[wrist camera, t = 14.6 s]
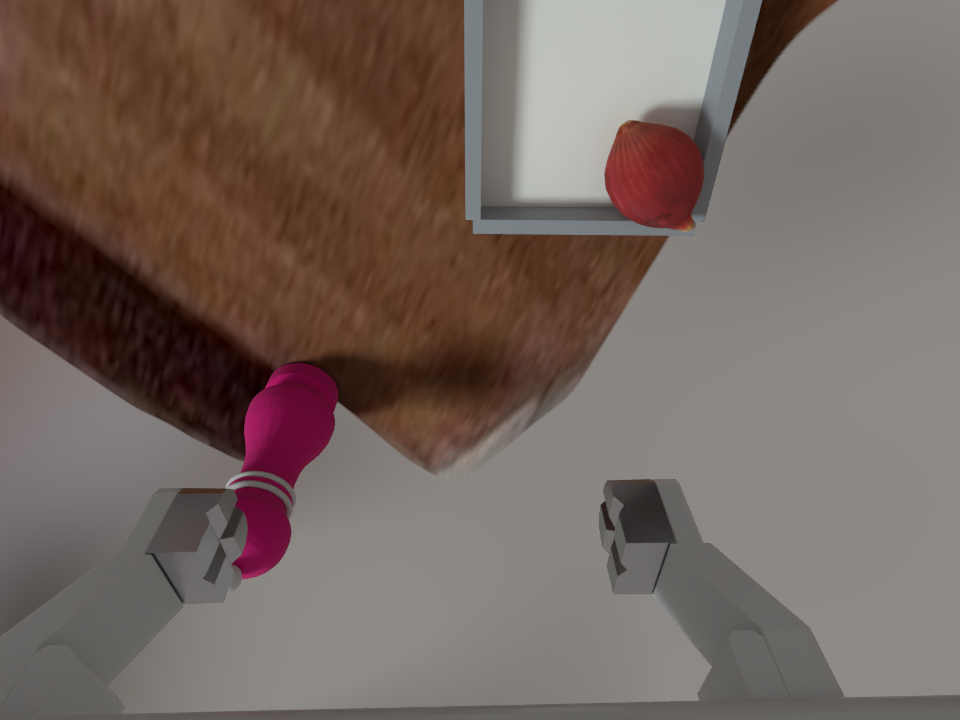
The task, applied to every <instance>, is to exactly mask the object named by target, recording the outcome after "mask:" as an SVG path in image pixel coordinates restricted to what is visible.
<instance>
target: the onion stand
mask: <svg viewBox="0 0 960 720" xmlns="http://www.w3.org/2000/svg"><path fill="white" fill-rule="evenodd" d="M761 4H762V0H464V24H465V201H466V220H473V234H563V235H674V236H675V235H676V236H693V234H694V230H695V228H694V229H692V230H691V231H687V232H683V231H681V230H672V229H668V228H652V227H647V226H643V225H640V224H637V223H635V222H633V221H631V220H629V219H628V218H627V217H625V216H624V215H623V214H621V213H620V211H619V210H618V209H617V208H616V207H615V206H614V205H613V203H612V201H611V199H610V197H609V195H608V193H607V190H606V187H605V177H604V173H605V168H606V163H607V159H608V156H609V153H610V151H611V148H612V145H613V143H614V140H615V137H616V134H617V131H618V129H619V127H620V126H621V124H623V123H625V122H626V121H629V120H636V121H640V122H645V123H653V124H661V125H666V126H670V127H674V128H677V129H679V130H681V131H682V132H684V133H686V134H688V135H689V136H690V137H691V138H692V140H693V141H694V142H695V143H696V145H697V146H698V148H699V151H700V154H701V156H702V160H703V166H704V181H703V185H702V189H701V193H700V196H699V198H698V200H697V203H696V205H695V207H694V209H693V211H692V213H691V215H692V218H693V220H694V222H695V226H696V222H704V220H705V216H706V213H707V209H708V205H709V201H710V198H711V194H712V190H713V186H714V182H715V179H716V174H717V171H718V166H719V163H720V159H721V156H722V152H723V148H724V144H725V140H726V137H727V133H728V129H729V125H730V121H731V118H732V114H733V110H734V106H735V102H736V99H737V95H738V91H739V87H740V83H741V80H742V76H743V72H744V68H745V64H746V61H747V57H748V53H749V49H750V45H751V42H752V38H753V34H754V30H755V26H756V23H757V19H758V15H759V11H760V7H761Z"/></svg>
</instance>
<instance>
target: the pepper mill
mask: <svg viewBox="0 0 960 720" xmlns="http://www.w3.org/2000/svg"><path fill="white" fill-rule="evenodd" d="M337 400H338V389H337V386H336V383H335V381H334V380H333V379H332V378H331V377H330V376H329V375H328V374H327V373H326V372H325V371H323V370H322V369H320V368H318V367H316V366H313V365H309V364H305V363H291V364H287V365H284V366H281V367H280V368H278V369H277V370H276V371H275V372H274V373H273V374H272V376H271V377H270V379H269V381H268V383H267V385H266V388H265V389H264V390H262V391H261V392H260V393H258V394H257V395H256V396H255V397H254V399H253V400H252V402H251V404H250V406H249V409H248V411H247V414H246V418H245V428H244V433H245V443H246V457H245V462H244V465H243V468H242V470H241V472H240V473H238V474H237V475H235V476H233V477H232V478H231V479H230V480H229V481H228V483H227V485H226V489H233V490H234V492H235V494H236V496H237V498H238V500H237V502H236V505H235V507H237V508H238V509H240V510H241V511H243V512H244V514H245V517H246V520H247V527H248V530H247V538H246V544H245V547H244V549H243V552H242V555H241V556H239V557H238V558H237V559H236V560H235V561H234V562H233V563H232V564H231V565H232V568H233V570H234V573H235V574H234V576H233V579H232V582H231V584H230V587H229V590H228V592H227V593H230V592H232V591H234V590H235V589H236V588H237V587H238V586H239V584H240V583H241V580H242V579H248V578H253V577H257V576H259V575H262V574H264V573H266V572H267V571H269V570H270V569H272V568H273V567H274V566H275V565H277V563H278V562H279V561H280V560H281V559H282V557H283V556H284V554H285V552H286V550H287V548H288V545H289V543H290V538H291V526H290V522H289V518H290V516H291V514H292V508H293V507H294V505H295V502H296V495H295V492H294V490H293V489H294V485H295V483H296V481H297V478H298V476H299V474H300V472H301V471H302V470H303V468H304V467H305V466H306V465H307V464H309V463H310V462H311V461H312V460H314V459H315V458H316V457H317V456H318V455H319V454H320V453H321V452H322V451H323V449H324V448H325V447H326V445H327V444H328V442H329V440H330V438H331V436H332V434H333V431H334V426H335V418H334V414H333V412H334V410H335V406H336V404H337Z"/></svg>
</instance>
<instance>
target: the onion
mask: <svg viewBox="0 0 960 720" xmlns="http://www.w3.org/2000/svg"><path fill="white" fill-rule="evenodd" d="M604 177H605V187H606V190H607V193H608V195H609V197H610V199H611V201H612V203H613V205H614V206H615V207H616V208H617V209H618V210H619V211H620V213H621V214H623V215H624V216H625V217H627V218H628V219H629V220H631V221H633V222H635V223H637V224H640V225H643V226H647V227H652V228H668V229H672V230H681V231H683V232H687V231H691V230H692V229H694V228H695V222H694V220H693V218H692V215H691V213H692V211H693V209H694V207H695V205H696V203H697V200H698V198H699V196H700V193H701V189H702V185H703V181H704V166H703V160H702V156H701V154H700V151H699V148H698V146H697V145H696V143H695V142H694V141H693V140H692V138H691V137H690V136H689V135H688V134H686V133H684V132H682V131H681V130H679V129H677V128H674V127H670V126H666V125H661V124H653V123H645V122H640V121H636V120H629V121H626V122H625V123H623V124H621V126H620V127H619V129H618V131H617V134H616V137H615V140H614V143H613V145H612V148H611V151H610V153H609V156H608V159H607V163H606V168H605V173H604Z"/></svg>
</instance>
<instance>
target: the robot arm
mask: <svg viewBox="0 0 960 720" xmlns="http://www.w3.org/2000/svg"><path fill="white" fill-rule="evenodd" d="M603 493H604V497H605V502H603V504H601V505H600V512H599V530H600V537H601V542H602V547H603V548H604V549H605V550H606V551H607V552H608V553H609V557H608V562H607V569H608V573H609V577H610V581H611V586H612V590H613V594H653V597H654V599H655V600H656V601H657V602H658V603H659V604H660V606H661V607H662V608H663V609H664V610H665V612H666V613H667V614H668V615H669V616H670V617H671V618H672V620H673V621H674V622H675V623H676V625H678V627H679V628H680V629H681V630H682V632H683V633H684V634H685V635H686V636H687V638H688V639H689V640H690V641H691V642H692V643H693V644H694V646H695V647H696V648H697V649H698V651H699V652H700V653H701V654H702V655H703V657H704V658H705V659H706V660H707V661H708V662H709V664H710V665H711V666H712V668H711V670H710V672H709V674H708V675H707V677H706V679H705V681H704V683H703V684H702V687H701V688H700V690H699V692H698V697H699V701H670V702H627V703H626V702H625V703H582V704H581V703H580V704H541V705H540V704H539V705H538V704H537V705H493V706H491V705H490V706H450V707H449V706H447V707H404V708H403V707H401V708H359V709H358V708H356V709H315V710H314V709H311V710H268V711H226V712H225V711H224V712H185V713H184V712H180V713H138V714H122V711H123V709H124V705H123V702H122V700H121V699H120V698H119V697H118V696H117V695H116V694H115V693H114V692H113V691H112V690H111V689H110V688H109V687H108V685H109V684H110V683H111V682H112V681H113V680H114V679H115V678H116V677H117V676H118V675H119V674H120V672H121V671H122V670H123V669H124V668H125V667H126V666H127V665H128V664H129V663H130V662H131V661H132V660H133V659H134V658H135V657H136V656H137V655H138V654H139V652H141V651H142V649H143V648H144V647H145V646H146V645H147V644H148V643H149V642H150V641H151V640H152V639H153V638H154V637H155V636H156V635H157V634H158V633H159V632H160V631H161V629H162V628H163V627H164V626H165V625H166V624H167V623H168V622H169V621H170V620H171V619H172V618H173V617H174V616H175V615H176V614H177V613H178V612H179V611H180V610H181V609H182V608H183V604H193V603H215V602H224V600H225V597H226V595H227V592H228V590H229V587H230V584H231V582H232V579H233V576H234V574H235V573H234V570H233V568H232V565H231V564H232V563H233V562H234V561H235V560H236V559H237V558H238V557H239V556H241V555H242V552H243V549H244V547H245V544H246V538H247V530H248V527H247V520H246V517H245V514H244V512H243V511H241V510H240V509H238V508H237V507H235V505H236V502H237V500H238V498H237V496H236V494H235V492H234V490H233V489H209V488H208V489H207V488H205V489H204V488H182V489H181V488H176V489H172V488H171V489H159V490H158V491H156V492H155V493H154V494H153V495H152V497H151V499H150V500H149V502H148V504H147V505H146V507H145V509H144V510H143V512H142V514H141V516H140V517H139V519H138V521H137V522H136V524H135V526H134V527H133V529H132V531H131V533H130V534H129V536H128V538H127V539H126V541H125V543H124V545H123V546H122V548H121V550H120V551H119V553H118V555H110V556H109V557H107V558H106V559H105V560H103V561H102V562H100V563H99V564H98V565H96V566H95V567H94V568H92V569H91V570H90V571H88V572H87V573H86V574H85V575H83V576H82V577H80V578H79V579H78V580H76V581H75V582H73V583H72V584H71V585H69V586H68V587H67V588H65V589H64V590H63V591H61V592H60V593H59V594H57V595H56V596H55V597H54V598H52V599H51V600H49V601H48V602H46V603H45V604H44V605H42V606H41V607H40V608H39V609H37V610H36V611H34V612H33V613H32V614H30V615H29V616H28V617H26V618H25V619H24V620H22V621H21V622H19V623H18V624H17V625H15V626H14V627H13V628H11V629H10V630H9V631H7V632H6V633H5V634H3V635H2V636H1V637H0V720H960V695H933V696H889V697H888V696H887V697H845V696H844V694H843V693H842V690H841V688H840V687H839V685H838V683H837V681H836V679H835V677H834V675H833V673H832V671H831V669H830V667H829V665H828V663H827V661H826V659H825V657H824V655H823V653H822V651H821V649H820V647H819V645H818V643H817V641H816V639H815V637H814V635H813V633H812V631H811V629H810V627H808V626H807V625H806V624H805V623H804V622H803V621H802V620H800V619H799V618H798V617H797V616H796V615H794V614H793V613H792V612H791V611H789V609H787V608H786V607H785V606H784V605H782V604H781V603H780V602H779V601H778V600H777V599H775V598H774V597H773V596H772V595H771V594H770V593H769V592H767V591H766V590H765V589H764V588H763V587H762V586H760V585H759V584H758V583H757V582H756V581H754V580H753V579H752V578H751V577H750V576H748V575H747V574H746V573H745V572H744V571H743V570H741V569H740V568H739V567H738V566H737V565H736V564H734V563H733V562H732V561H731V560H730V559H729V558H727V557H726V556H725V555H724V554H723V553H721V552H720V551H719V550H718V549H717V548H716V547H714V546H713V545H712V544H711V543H703V541H702V538H701V536H700V533H699V531H698V528H697V526H696V523H695V521H694V518H693V516H692V513H691V511H690V509H689V506H688V504H687V501H686V499H685V496H684V494H683V491H682V489H681V486H680V484H679V482H678V481H677V480H676V479H660V480H650V479H641V480H612V481H606V483H605V485H604V490H603Z"/></svg>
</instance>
